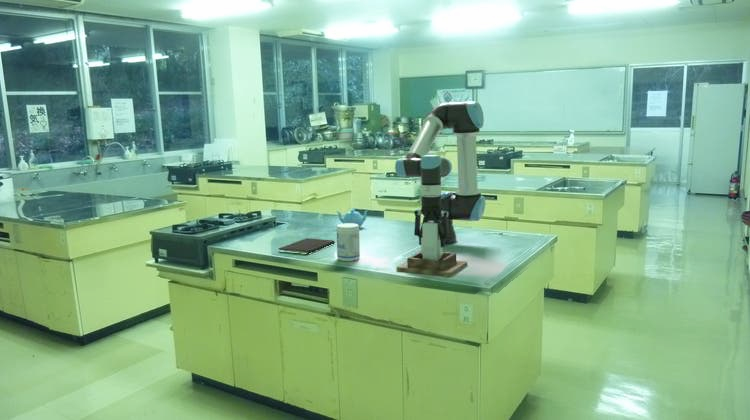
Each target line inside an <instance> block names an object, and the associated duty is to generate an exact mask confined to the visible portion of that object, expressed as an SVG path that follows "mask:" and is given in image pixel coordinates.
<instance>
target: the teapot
mask: <svg viewBox="0 0 750 420" xmlns="http://www.w3.org/2000/svg"><path fill="white" fill-rule="evenodd" d="M368 211H369V209H367V210H365V211H364V213H363V217H362V215H361V214H360V212H359V211H356V210H355V207H352V209H350V210H349V211H347V212H346V213H345V214H344V216H343V217H342V214H341V212H340V211H338V210H336V211H335V212H336V213H337V214H338V218H339V221H340V223H341V224H344V223H354V224H358V225H359V228H360V227H362V226H363V224H364V223H365V221H366V220H367V212H368Z"/></svg>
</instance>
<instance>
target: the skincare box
mask: <svg viewBox="0 0 750 420" xmlns="http://www.w3.org/2000/svg"><path fill="white" fill-rule="evenodd" d="M440 222H441V221H440ZM422 223H423V222H422ZM422 223H421V226H422V237H423V259H429V260H439V259H440V258H441V256H438V239H439V238H440V237H439V233H438V223H435V222H434V221H428V222H425V223H423V224H422Z"/></svg>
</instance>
